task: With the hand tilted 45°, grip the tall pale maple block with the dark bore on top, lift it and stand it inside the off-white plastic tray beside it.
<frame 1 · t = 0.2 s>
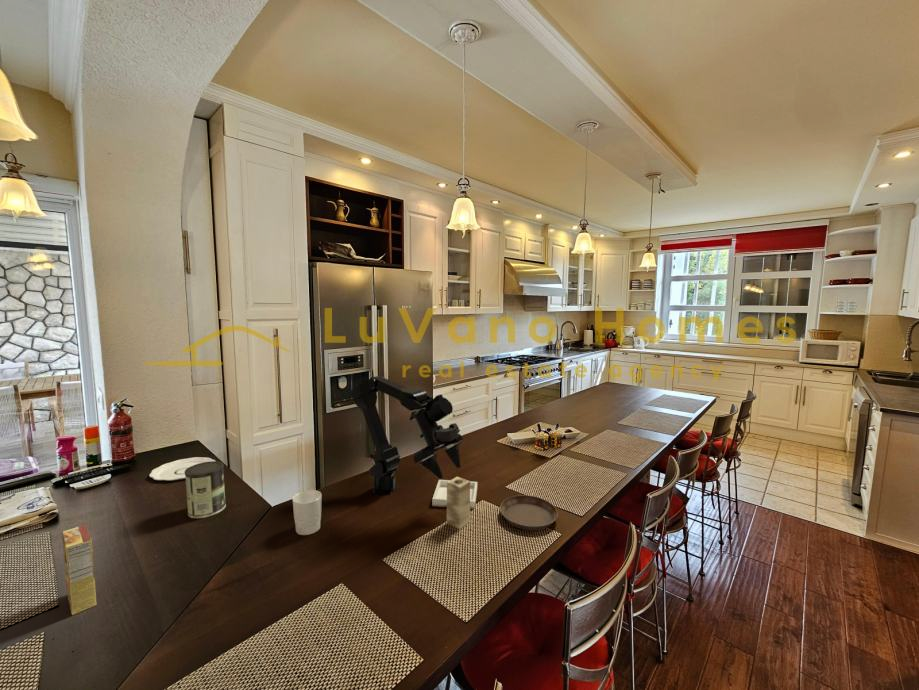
hand: (450, 472, 119), 14 cm above the kitchen island, tool tilted 35°, fingers open, 9 cm apart
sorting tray: (455, 496, 133), on the kitchen island
coffee can: (207, 510, 123), on the kitchen island
candy box: (82, 601, 86), on the kitchen island
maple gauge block: (458, 522, 118), on the kitchen island
white cup: (308, 529, 114), on the kitchen island
plant saucer: (528, 518, 121), on the kitchen island
plate: (184, 472, 152), on the kitchen island
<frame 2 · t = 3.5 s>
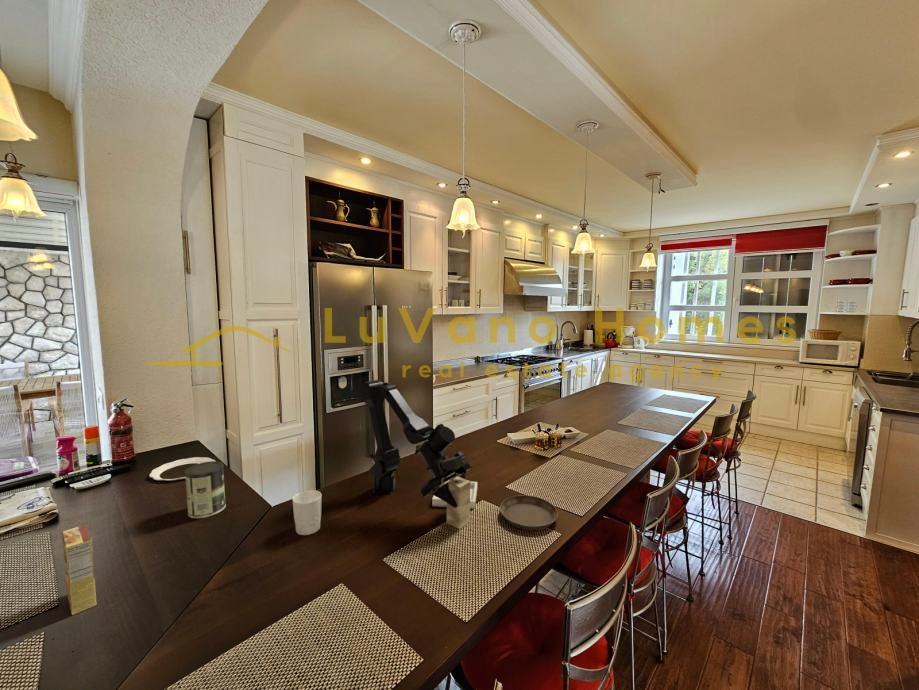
hand: (462, 503, 116), 7 cm above the kitchen island, tool tilted 45°, fingers closed on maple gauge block, 5 cm apart
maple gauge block: (458, 522, 118), on the kitchen island, touching gripper
everything else where it was.
when the fingers open (8 cm above the kitchen island, at t = 8.6 s): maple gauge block drops 1 cm, resting on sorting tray.
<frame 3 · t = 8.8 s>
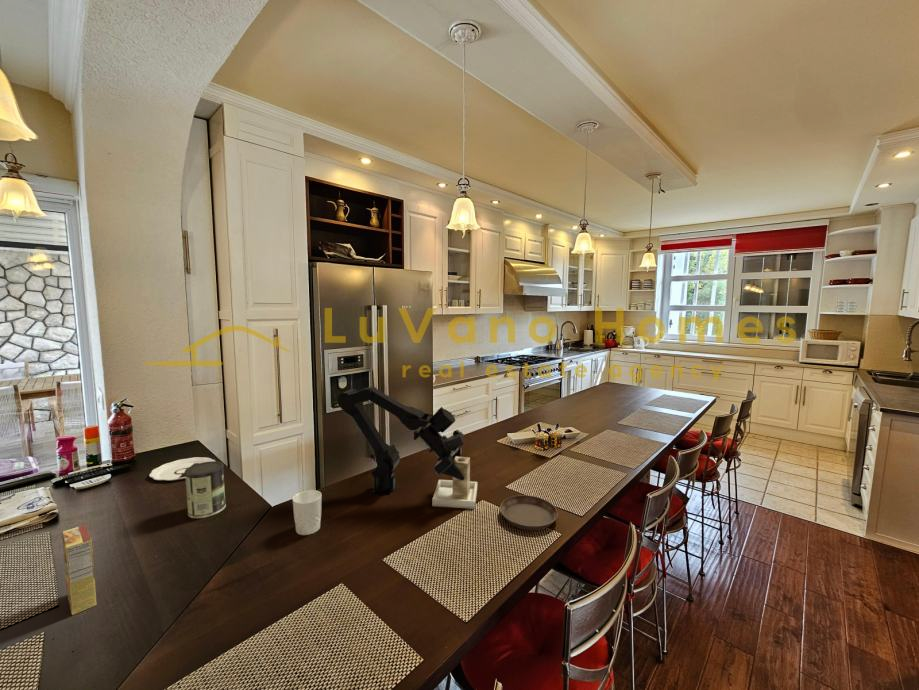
hand: (465, 474, 131), 9 cm above the kitchen island, tool tilted 45°, fingers open, 7 cm apart
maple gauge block: (461, 496, 132), point 1 cm above the kitchen island, touching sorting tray
everything else where it was.
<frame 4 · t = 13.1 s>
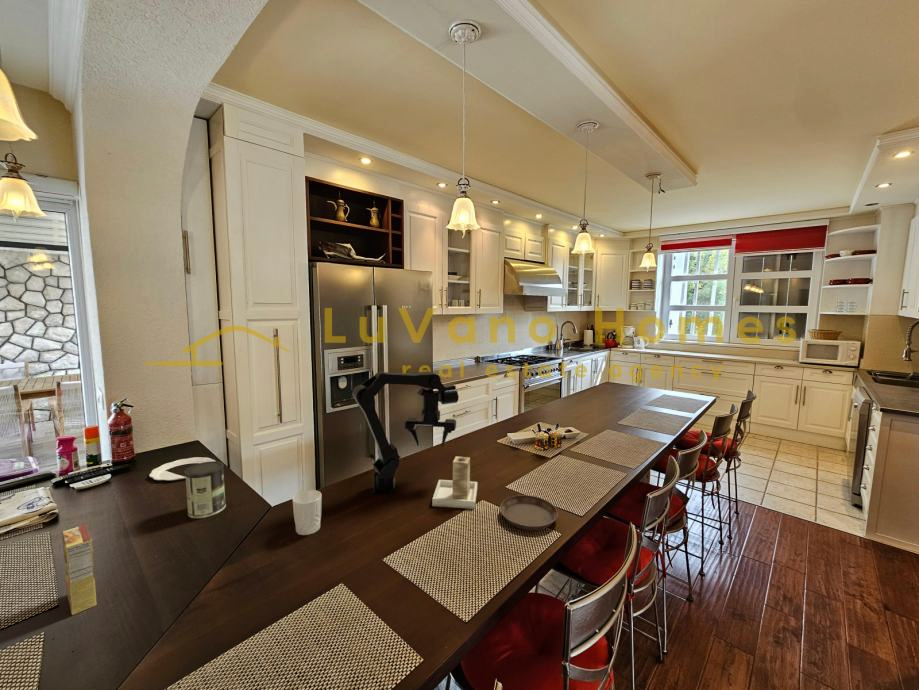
hand: (430, 446, 145), 13 cm above the kitchen island, tool pointing down, fingers open, 9 cm apart
nothing on the kitchen island moved.
at the end: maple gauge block inside the target area on the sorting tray (1.9 cm from its centre), point 0.6 cm above the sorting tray's base; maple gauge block tilted 0°; the gripper is holding nothing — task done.
